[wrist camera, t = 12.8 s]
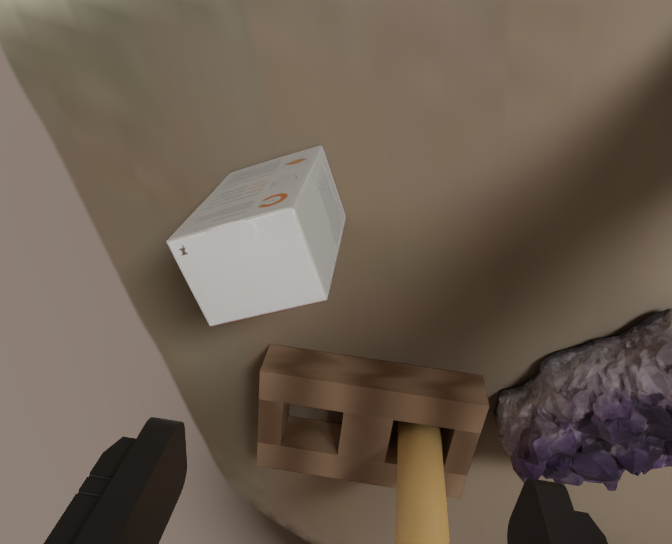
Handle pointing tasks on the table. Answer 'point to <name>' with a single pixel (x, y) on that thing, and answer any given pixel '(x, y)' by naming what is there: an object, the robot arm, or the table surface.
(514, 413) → the geode
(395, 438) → the hole block
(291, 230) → the small box
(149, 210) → the table surface
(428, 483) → the peg
